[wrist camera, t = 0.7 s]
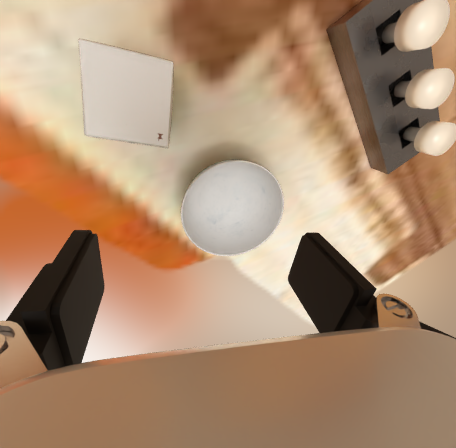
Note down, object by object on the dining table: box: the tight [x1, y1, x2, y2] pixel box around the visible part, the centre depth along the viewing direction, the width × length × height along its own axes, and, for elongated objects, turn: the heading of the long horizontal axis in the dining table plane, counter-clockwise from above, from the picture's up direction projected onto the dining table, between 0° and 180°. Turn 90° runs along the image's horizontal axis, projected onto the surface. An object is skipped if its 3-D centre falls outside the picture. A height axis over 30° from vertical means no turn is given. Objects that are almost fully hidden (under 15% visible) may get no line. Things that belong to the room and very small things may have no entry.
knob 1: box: [382, 0, 450, 52], centre depth 28 cm, size 4×4×6 cm
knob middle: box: [394, 68, 454, 109], centre depth 31 cm, size 4×4×6 cm
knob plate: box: [327, 0, 440, 174], centre depth 35 cm, size 24×10×4 cm, turn 35°
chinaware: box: [181, 160, 284, 256], centre depth 37 cm, size 15×15×8 cm
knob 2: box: [403, 121, 456, 156], centre depth 35 cm, size 4×4×6 cm
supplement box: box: [78, 39, 174, 148], centre depth 25 cm, size 7×7×13 cm
